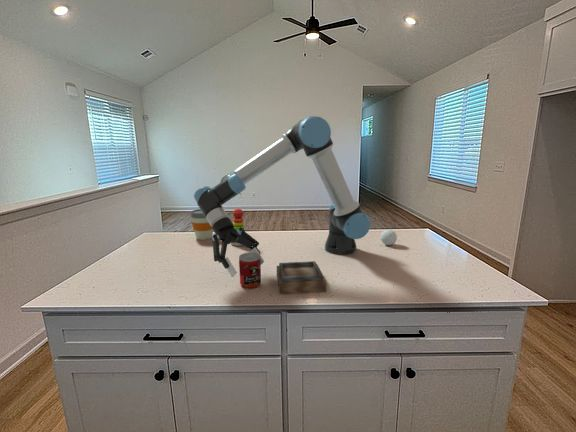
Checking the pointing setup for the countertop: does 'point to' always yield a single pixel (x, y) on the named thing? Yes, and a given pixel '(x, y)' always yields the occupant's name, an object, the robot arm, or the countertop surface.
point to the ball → (388, 237)
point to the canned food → (250, 270)
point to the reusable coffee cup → (201, 225)
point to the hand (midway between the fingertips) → (248, 268)
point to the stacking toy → (238, 222)
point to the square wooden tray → (300, 278)
